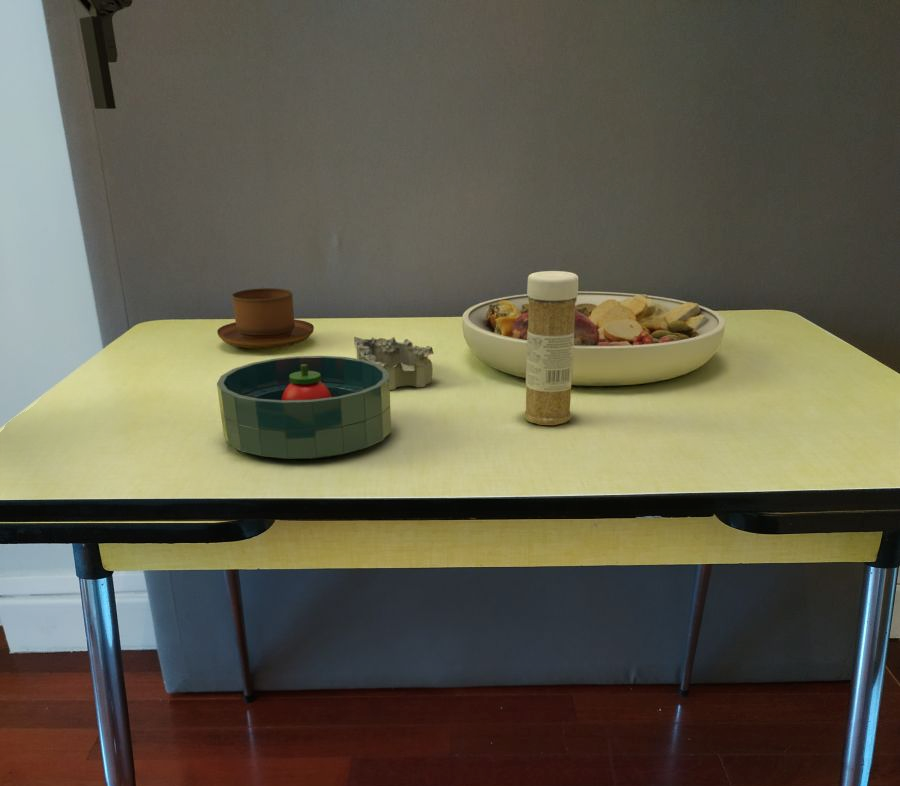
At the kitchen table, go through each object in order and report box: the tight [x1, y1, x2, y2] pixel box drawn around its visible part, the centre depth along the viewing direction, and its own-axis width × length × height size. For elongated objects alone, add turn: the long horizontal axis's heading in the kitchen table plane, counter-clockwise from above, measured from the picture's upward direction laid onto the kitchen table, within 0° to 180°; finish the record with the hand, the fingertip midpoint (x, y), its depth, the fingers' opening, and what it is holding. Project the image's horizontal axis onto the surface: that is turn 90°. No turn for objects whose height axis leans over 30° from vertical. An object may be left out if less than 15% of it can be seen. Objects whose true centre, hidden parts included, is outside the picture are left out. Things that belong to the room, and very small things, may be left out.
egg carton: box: [353, 336, 435, 391], centre depth 101 cm, size 11×8×4 cm
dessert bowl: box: [216, 355, 392, 460], centre depth 83 cm, size 15×15×6 cm
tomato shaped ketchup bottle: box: [282, 364, 332, 400], centre depth 82 cm, size 5×5×6 cm
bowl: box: [461, 291, 726, 387], centre depth 106 cm, size 30×30×8 cm
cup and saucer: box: [216, 287, 315, 350], centre depth 114 cm, size 12×12×6 cm
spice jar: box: [523, 270, 579, 426], centre depth 85 cm, size 5×5×13 cm
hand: (22, 110), depth 73 cm, fingers open, 13 cm apart
